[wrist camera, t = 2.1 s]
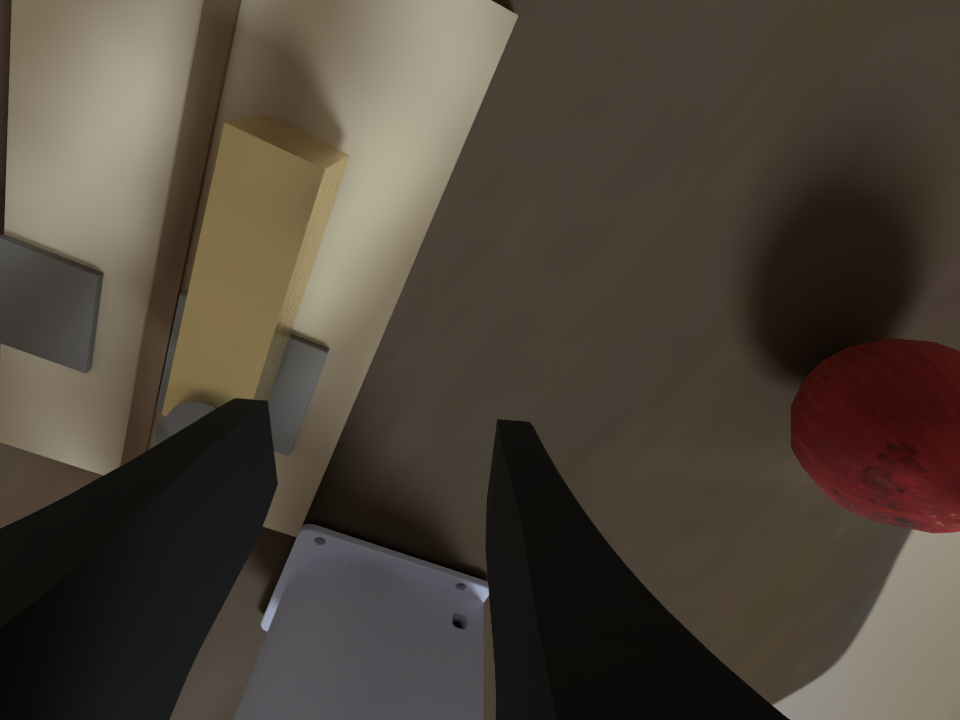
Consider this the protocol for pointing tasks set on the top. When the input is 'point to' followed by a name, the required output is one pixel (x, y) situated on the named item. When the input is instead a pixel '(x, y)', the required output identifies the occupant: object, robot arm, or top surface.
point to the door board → (184, 194)
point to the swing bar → (250, 265)
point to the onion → (885, 432)
